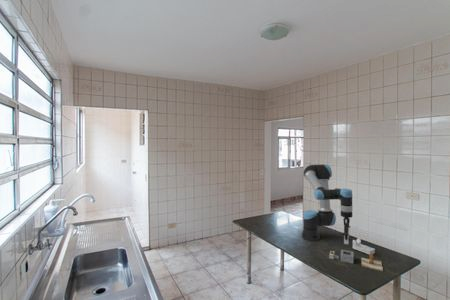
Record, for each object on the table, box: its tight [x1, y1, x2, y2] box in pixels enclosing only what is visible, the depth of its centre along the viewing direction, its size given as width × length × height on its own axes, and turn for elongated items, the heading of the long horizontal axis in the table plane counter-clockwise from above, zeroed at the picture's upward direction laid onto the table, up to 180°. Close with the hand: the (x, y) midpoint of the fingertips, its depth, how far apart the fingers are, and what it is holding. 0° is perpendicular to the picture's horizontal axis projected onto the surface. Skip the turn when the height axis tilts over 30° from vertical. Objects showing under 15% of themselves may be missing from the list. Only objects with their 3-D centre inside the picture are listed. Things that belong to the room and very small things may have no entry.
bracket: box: [352, 237, 376, 255], centre depth 183 cm, size 13×7×8 cm, turn 31°
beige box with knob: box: [328, 250, 336, 260], centre depth 176 cm, size 6×3×4 cm, turn 151°
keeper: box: [360, 254, 384, 272], centre depth 163 cm, size 12×12×7 cm
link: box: [340, 249, 355, 264], centre depth 171 cm, size 8×8×5 cm
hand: (346, 240), depth 170 cm, fingers open, 13 cm apart
